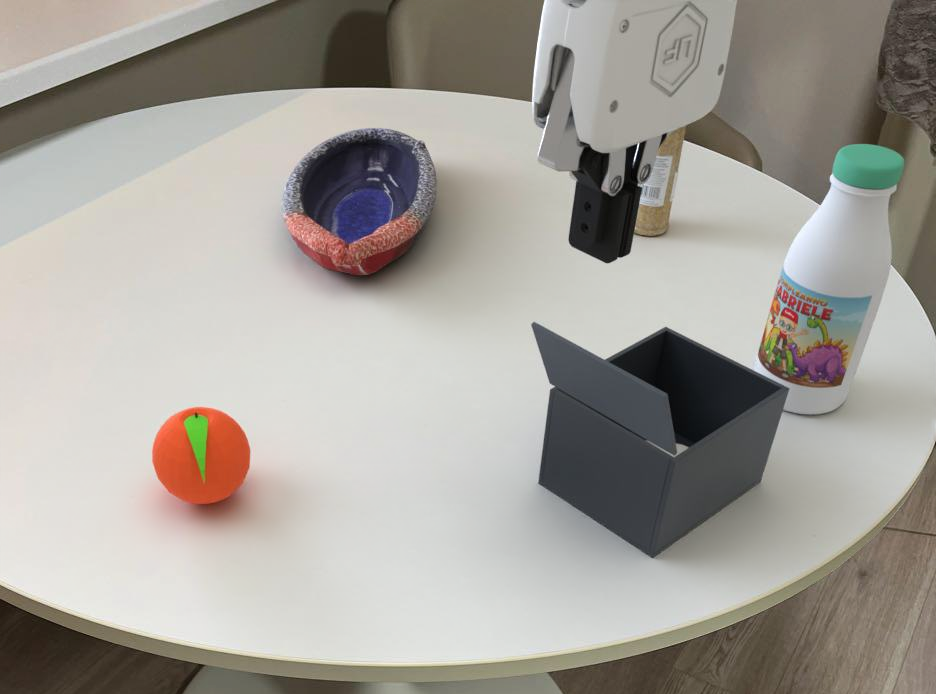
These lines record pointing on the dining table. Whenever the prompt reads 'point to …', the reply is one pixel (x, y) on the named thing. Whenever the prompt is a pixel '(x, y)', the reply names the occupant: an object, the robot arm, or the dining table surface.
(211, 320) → the dining table surface
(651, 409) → the flap
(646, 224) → the sprinkles bottle
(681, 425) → the bin
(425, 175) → the dish
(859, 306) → the milk bottle
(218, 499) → the clementine
